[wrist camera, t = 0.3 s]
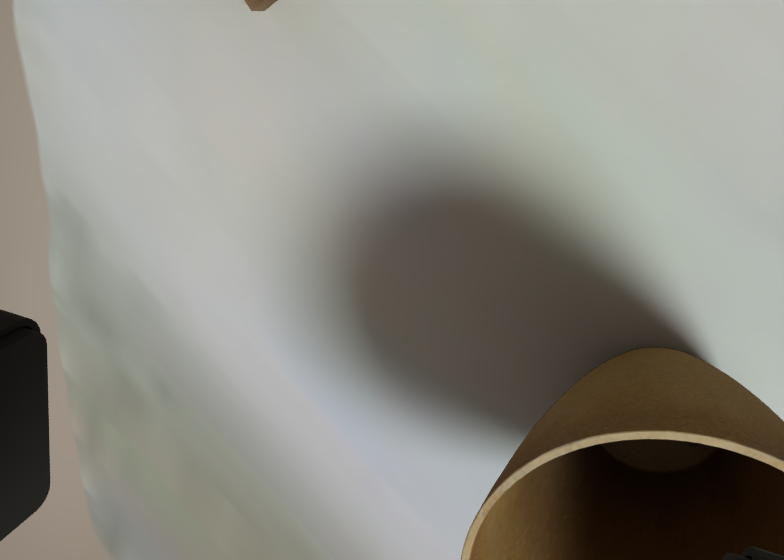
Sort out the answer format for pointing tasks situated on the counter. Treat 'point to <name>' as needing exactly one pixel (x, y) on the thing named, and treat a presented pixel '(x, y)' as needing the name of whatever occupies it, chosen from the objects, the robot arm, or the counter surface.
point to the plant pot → (641, 470)
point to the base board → (259, 4)
